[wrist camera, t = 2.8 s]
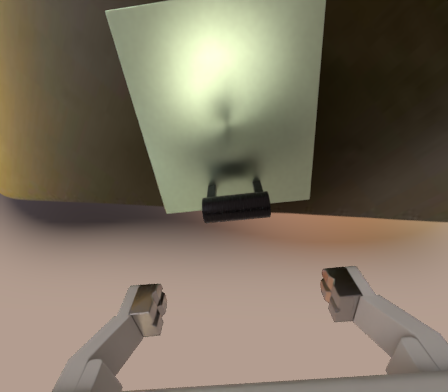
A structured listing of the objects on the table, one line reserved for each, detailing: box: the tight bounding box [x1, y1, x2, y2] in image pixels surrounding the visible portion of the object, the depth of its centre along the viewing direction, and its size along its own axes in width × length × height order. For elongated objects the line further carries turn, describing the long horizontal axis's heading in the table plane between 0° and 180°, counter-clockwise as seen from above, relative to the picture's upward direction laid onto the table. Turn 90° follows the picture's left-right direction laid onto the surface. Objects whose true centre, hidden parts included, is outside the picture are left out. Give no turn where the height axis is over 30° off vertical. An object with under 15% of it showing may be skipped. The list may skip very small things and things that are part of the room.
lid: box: [105, 0, 326, 223], centre depth 16 cm, size 16×14×5 cm
